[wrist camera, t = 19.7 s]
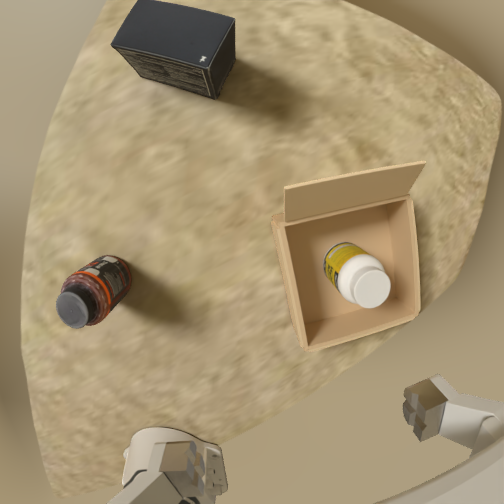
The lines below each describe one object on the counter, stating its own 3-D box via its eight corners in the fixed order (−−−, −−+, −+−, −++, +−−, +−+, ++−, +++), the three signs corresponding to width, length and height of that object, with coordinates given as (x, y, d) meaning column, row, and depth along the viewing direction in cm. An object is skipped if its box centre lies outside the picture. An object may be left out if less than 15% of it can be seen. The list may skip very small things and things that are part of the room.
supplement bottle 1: (107, 244, 36) (63, 269, 25) (141, 275, 37) (108, 311, 26) (84, 276, 37) (40, 309, 26) (116, 306, 38) (81, 348, 27)
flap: (426, 163, 25) (424, 160, 25) (284, 189, 25) (283, 186, 25) (406, 195, 30) (405, 192, 30) (284, 221, 30) (283, 219, 30)
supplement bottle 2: (313, 257, 37) (338, 283, 28) (349, 232, 37) (384, 250, 27) (334, 291, 38) (361, 325, 29) (368, 267, 38) (405, 294, 28)
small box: (238, 56, 32) (239, 15, 22) (217, 101, 33) (209, 72, 23) (161, 34, 30) (139, -6, 20) (138, 77, 32) (107, 47, 21)
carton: (399, 299, 40) (420, 316, 34) (293, 330, 40) (302, 354, 34) (387, 190, 36) (411, 193, 30) (269, 216, 36) (275, 223, 31)
